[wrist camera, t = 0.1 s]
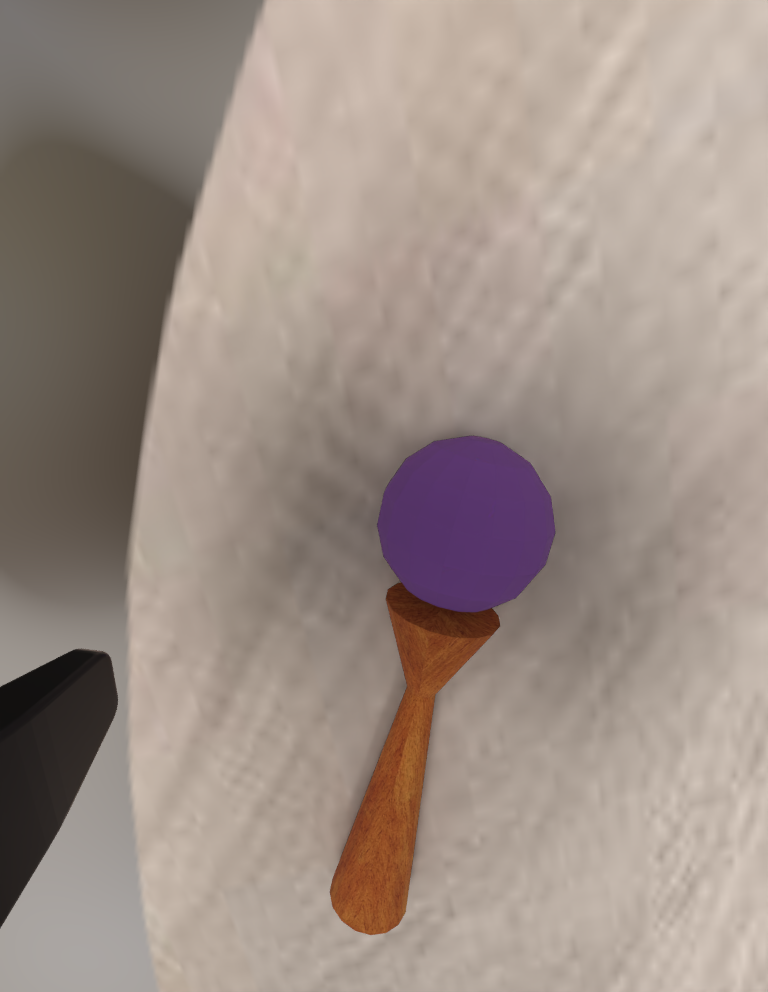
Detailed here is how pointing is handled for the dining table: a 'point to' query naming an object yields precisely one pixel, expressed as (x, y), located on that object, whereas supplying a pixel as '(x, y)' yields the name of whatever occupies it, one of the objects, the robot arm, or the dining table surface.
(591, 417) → the dining table surface
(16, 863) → the robot arm
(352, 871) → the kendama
